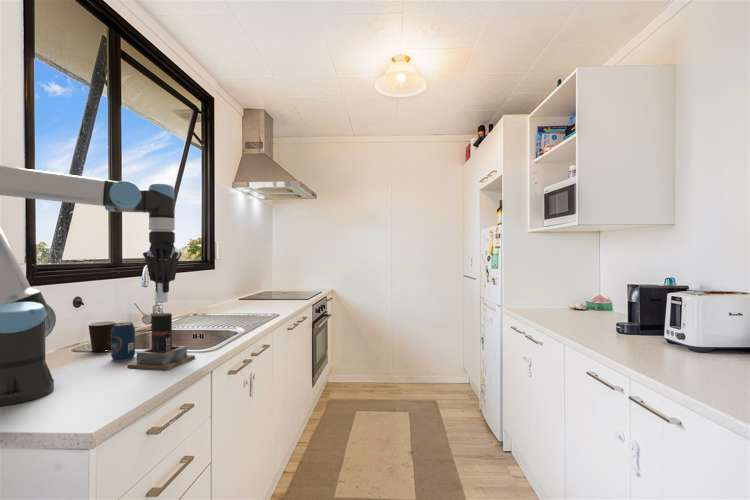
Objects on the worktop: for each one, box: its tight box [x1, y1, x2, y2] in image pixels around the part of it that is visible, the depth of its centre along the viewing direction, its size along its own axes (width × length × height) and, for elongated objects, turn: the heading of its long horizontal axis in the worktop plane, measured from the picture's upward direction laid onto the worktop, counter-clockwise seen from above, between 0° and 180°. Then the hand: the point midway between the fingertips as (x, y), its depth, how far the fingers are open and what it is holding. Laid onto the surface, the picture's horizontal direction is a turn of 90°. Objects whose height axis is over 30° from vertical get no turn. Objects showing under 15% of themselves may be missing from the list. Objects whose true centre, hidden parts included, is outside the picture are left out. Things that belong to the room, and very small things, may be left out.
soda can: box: [110, 322, 136, 362], centre depth 137 cm, size 7×7×12 cm
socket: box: [127, 345, 196, 371], centre depth 132 cm, size 14×14×4 cm
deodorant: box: [150, 312, 173, 353], centre depth 132 cm, size 6×6×15 cm
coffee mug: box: [87, 320, 117, 353], centre depth 150 cm, size 12×9×10 cm
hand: (162, 302), depth 132 cm, fingers closed
